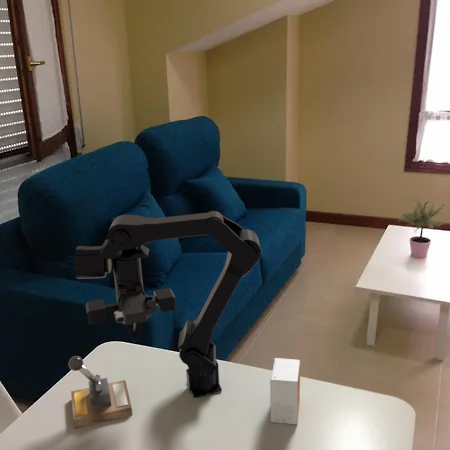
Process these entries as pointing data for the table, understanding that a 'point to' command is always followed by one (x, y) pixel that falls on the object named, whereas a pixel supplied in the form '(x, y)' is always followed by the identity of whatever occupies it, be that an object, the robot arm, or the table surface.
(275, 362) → the small box
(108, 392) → the switch unit
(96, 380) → the lever
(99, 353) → the table surface
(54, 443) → the table surface
